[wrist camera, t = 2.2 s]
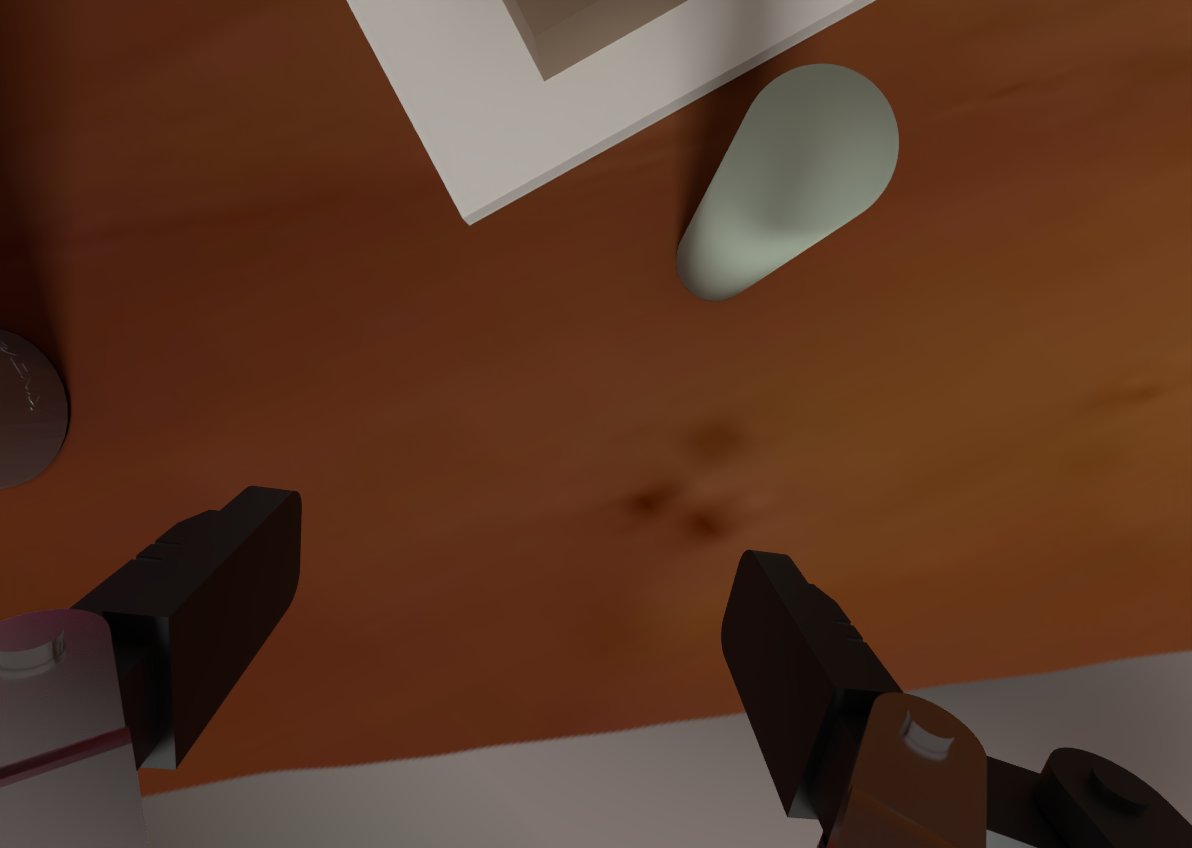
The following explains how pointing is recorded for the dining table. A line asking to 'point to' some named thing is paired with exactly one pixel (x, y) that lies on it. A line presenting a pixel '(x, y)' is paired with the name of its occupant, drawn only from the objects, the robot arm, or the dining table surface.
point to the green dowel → (789, 178)
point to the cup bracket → (563, 75)
